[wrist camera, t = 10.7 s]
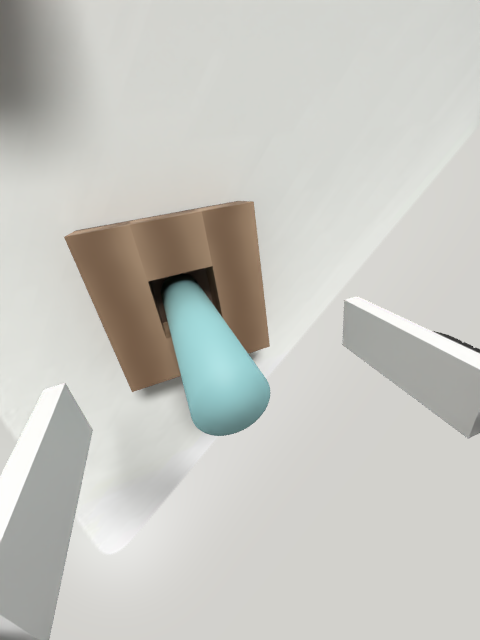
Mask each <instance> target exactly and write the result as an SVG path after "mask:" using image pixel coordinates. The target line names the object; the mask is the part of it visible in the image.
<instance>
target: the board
mask: <svg viewBox="0 0 480 640" xmlns="http://www.w3.org/2000/svg"><path fill="white" fill-rule="evenodd" d="M64 238H65V240H66V242H67V245H68V247H69V249H70V251H71V254H72V256H73V258H74V261H75V263H76V265H77V267H78V270H79V272H80V274H81V276H82V279H83V281H84V283H85V286H86V288H87V290H88V292H89V295H90V297H91V299H92V302H93V304H94V306H95V308H96V311H97V313H98V315H99V318H100V320H101V322H102V324H103V327H104V329H105V331H106V333H107V336H108V338H109V340H110V343H111V345H112V347H113V349H114V352H115V354H116V356H117V359H118V361H119V363H120V365H121V368H122V370H123V372H124V374H125V377H126V379H127V381H128V384H129V386H130V388H131V390H132V392H134V391H137V390H140V389H143V388H146V387H149V386H152V385H155V384H158V383H161V382H164V381H167V380H170V379H173V378H176V377H179V376H181V373H180V369H179V365H178V361H177V357H176V353H175V349H174V345H173V341H172V337H171V333H170V329H169V325H168V321H167V317H166V313H165V309H164V305H163V301H162V297H161V287H162V284H163V283H164V281H165V280H166V279H167V278H168V277H169V276H173V275H177V274H181V273H184V274H188V275H190V276H192V277H193V278H194V279H195V280H196V281H197V283H198V284H199V285H200V287H201V288H202V290H203V291H204V292H205V294H206V295H207V297H208V298H209V299H210V301H211V302H212V304H213V305H214V306H215V308H216V309H217V311H218V312H219V314H220V315H221V316H222V318H223V319H224V321H225V322H226V323H227V325H228V326H229V328H230V329H231V330H232V332H233V333H234V335H235V336H236V337H237V339H238V340H239V342H240V343H241V344H242V346H243V347H244V349H245V350H246V352H247V353H251V352H254V351H257V350H260V349H263V348H266V347H269V346H270V345H269V336H268V327H267V318H266V309H265V300H264V291H263V282H262V273H261V264H260V255H259V246H258V237H257V228H256V219H255V210H254V202H247V201H235V202H230V203H224V204H219V205H213V206H208V207H202V208H197V209H192V210H186V211H181V212H175V213H170V214H164V215H159V216H153V217H148V218H142V219H137V220H131V221H126V222H121V223H115V224H110V225H104V226H99V227H93V228H88V229H82V230H77V231H74V232H73V233H71V234H69V235H67V236H65V237H64Z"/></svg>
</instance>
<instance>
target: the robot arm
mask: <svg viewBox="0 0 480 640" xmlns="http://www.w3.org/2000/svg"><path fill="white" fill-rule="evenodd" d="M342 345H343V346H345V347H346V348H347V349H349V350H350V351H351V352H353V353H354V354H355V355H357V356H358V357H359V358H361V359H362V360H364V361H365V362H366V363H367V364H369V365H370V366H371V367H373V368H374V369H376V370H377V371H378V372H380V373H381V374H382V375H383V376H385V377H386V378H388V379H389V380H390V381H392V382H393V383H394V384H396V385H397V386H398V387H400V388H401V389H402V390H404V391H405V392H406V393H408V394H409V395H410V396H412V397H413V398H415V399H416V400H417V401H418V402H420V403H421V404H422V405H424V406H425V407H427V408H428V409H429V410H431V411H432V412H433V413H435V414H436V415H437V416H439V417H440V418H442V419H443V420H444V421H445V422H447V423H448V424H449V425H451V426H452V427H453V428H455V429H456V430H458V431H459V432H460V433H461V434H463V435H464V436H465V437H467V438H470V437H472V436H474V435H476V434H478V433H480V349H478V348H473V346H471V345H469V344H467V343H462V342H461V341H460V340H458V339H455V338H454V337H451V336H449V335H446V334H442V333H438V332H435V331H431V330H428V329H426V328H424V327H422V326H420V325H418V324H416V323H413V322H411V321H409V320H407V319H405V318H403V317H401V316H398V315H396V314H394V313H392V312H390V311H388V310H386V309H383V308H381V307H379V306H377V305H375V304H373V303H371V302H369V301H366V300H364V299H362V298H360V297H358V296H356V297H352V298H349V299H346V300H344V321H343V344H342ZM92 431H93V430H92V428H91V426H90V425H89V423H88V421H87V419H86V418H85V416H84V414H83V413H82V411H81V409H80V407H79V406H78V404H77V402H76V401H75V399H74V397H73V396H72V394H71V392H70V390H69V389H68V387H67V385H66V384H65V383H63V384H60V385H57V386H53V387H50V388H46V389H44V390H43V392H42V394H41V396H40V398H39V400H38V402H37V404H36V406H35V408H34V410H33V412H32V414H31V416H30V418H29V420H28V422H27V424H26V426H25V428H24V430H23V432H22V434H21V436H20V438H19V440H18V442H17V444H16V446H15V448H14V450H13V452H12V454H11V456H10V458H9V460H8V462H7V464H6V466H5V468H4V470H3V472H2V474H1V476H0V640H49V638H50V633H51V628H52V624H53V619H54V614H55V609H56V604H57V599H58V595H59V590H60V585H61V580H62V575H63V571H64V566H65V561H66V556H67V551H68V546H69V541H70V537H71V532H72V527H73V522H74V518H75V513H76V508H77V503H78V498H79V494H80V489H81V484H82V479H83V474H84V469H85V465H86V460H87V455H88V450H89V445H90V441H91V436H92Z"/></svg>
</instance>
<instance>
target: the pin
mask: <svg viewBox="0 0 480 640" xmlns="http://www.w3.org/2000/svg"><path fill="white" fill-rule="evenodd" d="M161 297H162V301H163V305H164V309H165V313H166V317H167V321H168V325H169V329H170V333H171V337H172V341H173V345H174V349H175V353H176V357H177V361H178V365H179V369H180V373H181V377H182V381H183V385H184V389H185V393H186V397H187V401H188V405H189V409H190V413H191V417H192V420H193V423H194V424H195V426H196V427H197V428H198V429H200V430H201V431H202V432H204V433H207V434H210V435H215V436H224V435H230V434H234V433H237V432H239V431H241V430H244V429H245V428H247V427H249V426H250V425H252V424H253V423H254V422H255V421H256V420H257V419H258V418H259V417H260V416H261V415H262V414H263V412H264V411H265V409H266V407H267V405H268V402H269V399H270V387H269V384H268V382H267V380H266V378H265V377H264V375H263V374H262V373H261V371H260V370H259V368H258V367H257V366H256V364H255V363H254V361H253V360H252V359H251V357H250V356H249V354H248V353H247V352H246V350H245V349H244V347H243V346H242V344H241V343H240V342H239V340H238V339H237V337H236V336H235V335H234V333H233V332H232V330H231V329H230V328H229V326H228V325H227V323H226V322H225V321H224V319H223V318H222V316H221V315H220V314H219V312H218V311H217V309H216V308H215V306H214V305H213V304H212V302H211V301H210V299H209V298H208V297H207V295H206V294H205V292H204V291H203V290H202V288H201V287H200V285H199V284H198V283H197V281H196V280H195V279H194V278H193V277H192V276H190V275H188V274H184V273H181V274H177V275H173V276H169V277H168V278H167V279H166V280H165V281H164V283H163V284H162V287H161Z"/></svg>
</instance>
